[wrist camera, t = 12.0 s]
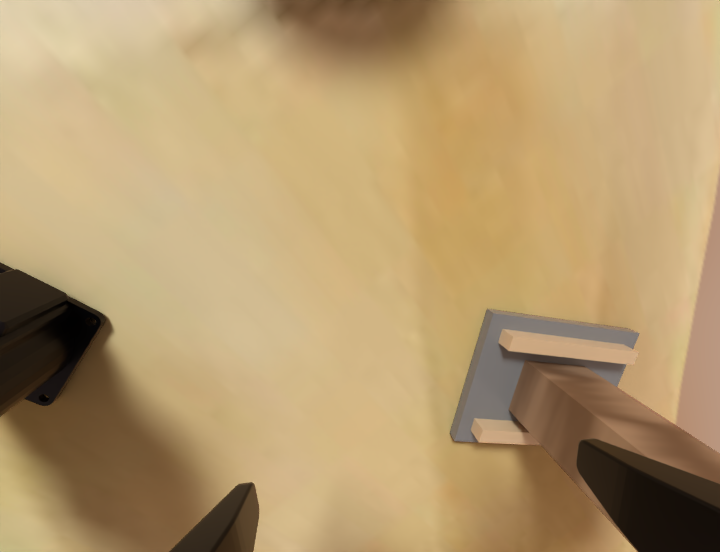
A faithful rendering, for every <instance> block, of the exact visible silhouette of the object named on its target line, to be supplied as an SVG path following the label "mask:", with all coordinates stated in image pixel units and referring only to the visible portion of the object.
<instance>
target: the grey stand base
mask: <svg viewBox="0 0 720 552" xmlns="http://www.w3.org/2000/svg"><path fill="white" fill-rule="evenodd" d="M638 336H639V333H638V332H635V331H633V330H631V329H627V328H620V327H613V326H605V325H598V324H591V323H584V322H577V321H570V320H563V319H556V318H549V317H541V316H534V315H527V314H520V313H513V312H506V311H499V310H492V309H487V311H486V314H485V318H484V321H483V324H482V328H481V331H480V334H479V338H478V341H477V344H476V348H475V351H474V354H473V358H472V361H471V364H470V368H469V371H468V374H467V378H466V381H465V384H464V388H463V391H462V394H461V398H460V401H459V404H458V408H457V411H456V414H455V418H454V421H453V424H452V428H451V431H450V434H451V436H452V438H453V440H454V441H462V442H481V443H501V444H522V445H540V444H539V443H538V441H537V440H536V439H535V438H534V437H533V436H532V435H531V434H530V433H529V432H528V430H527V429H526V428H525V427H524V426H523V425H522V424H521V423H520V422H519V421H518V419H517V418H516V417H515V416H514V415H513V414H512V413H511V412H510V411H509V406H510V403H511V400H512V397H513V394H514V391H515V388H516V385H517V383H518V380H519V377H520V374H521V371H522V368H523V365H524V362H525V360H529V361H539V362H548V363H558V364H568V365H577V366H585V367H587V368H588V369H590V370H591V371H593V372H594V373H596V374H597V375H599V376H600V377H602V378H604V379H605V380H607V381H608V382H610V383H611V384H613V385H614V386H616V387H617V386H618V383H619V381H620V379H621V376H622V374H623V371H624V369H625V367H626V364H628V365H634V363H635V361H636V358H637V356H638V354H639V352H638V351H636V350H634V349H633V348H634V345H635V343H636V341H637V338H638Z"/></svg>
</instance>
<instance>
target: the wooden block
mask: <svg viewBox="0 0 720 552" xmlns="http://www.w3.org/2000/svg"><path fill="white" fill-rule="evenodd" d="M509 411H510V412H511V413H512V414H513V415H514V416H515V417H516V418H517V419H518V421H519V422H520V423H521V424H522V425H523V426H524V427H525V428H526V429H527V430H528V432H529V433H530V434H531V435H532V436H533V437H534V438H535V439H536V440H537V441H538V443H539V444H540V445H541V446H542V447H543V448H544V449H545V450H546V451H547V452H548V454H549V455H550V456H551V457H552V458H553V459H554V460H555V461H556V462H557V463H558V465H559V466H560V467H561V468H562V469H563V470H564V471H565V472H566V473H567V474H568V476H569V477H570V478H571V479H572V480H573V481H574V482H575V483H576V484H577V485H578V487H579V488H580V489H581V490H582V491H583V492H584V493H585V494H586V495H587V497H588V498H589V499H590V500H591V501H592V502H593V503H594V504H595V505H596V506H597V508H598V509H599V510H600V511H601V512H602V513H603V514H604V515H605V516H606V517H607V519H608V520H609V521H610V522H611V523H612V524H613V525H614V526H615V527H616V528H617V530H618V531H619V532H620V533H621V534H622V535H623V536H624V537H625V535H624V534H623V533H622V532H621V531H620V529H619V528H618V527H617V525H616V524H615V523H614V521H613V520H612V519H611V517H610V516H609V515H608V513H607V512H606V511H605V509H604V508H603V506H602V505H601V503H600V502H599V501H598V499H597V498H596V496H595V495H594V494H593V492H592V491H591V489H590V488H589V487H588V485H587V484H586V482H585V481H584V480H583V478H582V477H581V475H580V474H579V472H578V469H577V466H576V459H577V451H578V444H579V442H580V440H582V439H590V438H595V439H598V440H601V441H604V442H607V443H609V444H612V445H615V446H618V447H620V448H623V449H626V450H629V451H631V452H634V453H637V454H640V455H642V456H645V457H648V458H651V459H653V460H656V461H659V462H662V463H664V464H667V465H670V466H673V467H675V468H678V469H681V470H684V471H686V472H689V473H692V474H695V475H697V476H700V477H703V478H706V479H708V480H711V481H714V482H717V483H719V484H720V453H718V452H716V451H715V450H713V449H712V448H710V447H709V446H707V445H705V444H704V443H702V442H701V441H699V440H698V439H696V438H695V437H693V436H692V435H690V434H689V433H687V432H685V431H684V430H682V429H681V428H679V427H678V426H676V425H675V424H673V423H672V422H670V421H669V420H667V419H665V418H664V417H662V416H661V415H659V414H658V413H656V412H655V411H653V410H652V409H650V408H648V407H647V406H645V405H644V404H642V403H641V402H639V401H638V400H636V399H635V398H633V397H631V396H630V395H628V394H627V393H625V392H624V391H622V390H621V389H619V388H618V387H616V386H614V385H613V384H611V383H610V382H608V381H607V380H605V379H604V378H602V377H600V376H599V375H597V374H596V373H594V372H593V371H591V370H590V369H588V368H587V367H585V366H577V365H568V364H558V363H548V362H539V361H529V360H525V362H524V365H523V368H522V371H521V374H520V377H519V380H518V383H517V385H516V388H515V391H514V394H513V397H512V400H511V403H510V406H509ZM625 538H626V537H625ZM626 539H627V538H626ZM627 541H628V542H629V543H630V541H629V540H628V539H627ZM630 544H631V543H630ZM631 545H632V544H631ZM632 546H633V545H632ZM633 547H634V546H633ZM634 548H635V547H634ZM637 552H638V551H637Z"/></svg>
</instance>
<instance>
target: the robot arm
mask: <svg viewBox="0 0 720 552" xmlns="http://www.w3.org/2000/svg"><path fill="white" fill-rule="evenodd" d="M90 317H91V318H94V319H95V321H96V323H93V322H91V320H90ZM104 322H105V317H104V315H103V314H102V313H100V312H99V311H97V310H95V309H93V308H91V307H89V306H87V305H85V304H83V303H81V302H79V301H77V300H75V299H73V298H71V297H69V296H67V294H66V293H64V292H62V291H60V290H58V289H56V288H54V287H52V286H50V285H48V284H46V283H44V282H42V281H40V280H38V279H36V278H34V277H32V276H30V275H28V274H26V273H24V272H22V271H20V270H17V269H16V270H14V269H12V268H10V267H8V266H6V265H4V264H2V263H0V417H1V416H2V415H3V414H5V413H6V412H7V411H9V410H10V409H11V408H13V407H14V406H15V405H16V404H18V403H19V402H20V401H22V400H23V399H26V400H29V401H31V402H34V403H36V404H39V405H42V406H48V405H50V404H52V403H53V402H54V401H55V400H56V399H57V398H58V397H59V396H60V394H61V392H62V391H63V389H64V387H65V386H66V384H67V383H68V381H69V379H70V378H71V376H72V375H73V373H74V371H75V370H76V368H77V366H78V365H79V363H80V362H81V360H82V358H83V357H84V355H85V354H86V352H87V350H88V349H89V347H90V345H91V344H92V342H93V341H94V339H95V337H96V336H97V334H98V333H99V331H100V329H101V328H102V326H103V325H104ZM44 394H45V395H47V396H48V397H49V398H48V397H46V396H45V395H44ZM576 466H577V469H578V472H579V474H580V475H581V477H582V478H583V480H584V481H585V482H586V484H587V485H588V487H589V488H590V489H591V491H592V492H593V494H594V495H595V496H596V498H597V499H598V501H599V502H600V503H601V505H602V506H603V508H604V509H605V511H606V512H607V513H608V515H609V516H610V517H611V519H612V520H613V521H614V523H615V524H616V525H617V527H618V528H619V529H620V531H621V532H622V533H623V534H624V535H625V537H626V538H627V539H628V540H629V541H630V543H631V544H632V545H633V546H634V547H635V549H636V550H637V551H638V552H720V484H719V483H717V482H714V481H711V480H708V479H706V478H703V477H700V476H697V475H695V474H692V473H689V472H686V471H684V470H681V469H678V468H675V467H673V466H670V465H667V464H664V463H662V462H659V461H656V460H653V459H651V458H648V457H645V456H642V455H640V454H637V453H634V452H631V451H629V450H626V449H623V448H620V447H618V446H615V445H612V444H609V443H607V442H604V441H601V440H598V439H595V438H590V439H582V440H580V442H579V444H578V451H577V459H576ZM258 520H259V504H258V499H257V494H256V489H255V485H254V483H252V482H250V483H243V484H238V485H237V486H236V487H235V488H234V489H233V490H232V491H231V492H230V493H229V494H228V495H227V496H226V497H225V498H224V499H223V500H221V501H220V502H219V503H218V504H217V505H216V506H215V507H214V508H213V509H212V510H211V511H210V512H209V513H208V514H207V515H206V516H205V517H204V518H203V519H202V520H201V521H200V522H199V523H198V524H197V525H196V526H195V527H194V528H193V529H192V530H191V531H190V532H189V533H188V534H187V535H186V536H185V537H184V538H183V539H182V540H181V541H180V542H179V543H178V544H177V545H176V546H175V547H174V548H173V549H172V550H170V551H169V552H253V550H254V544H255V538H256V532H257V526H258Z"/></svg>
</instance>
